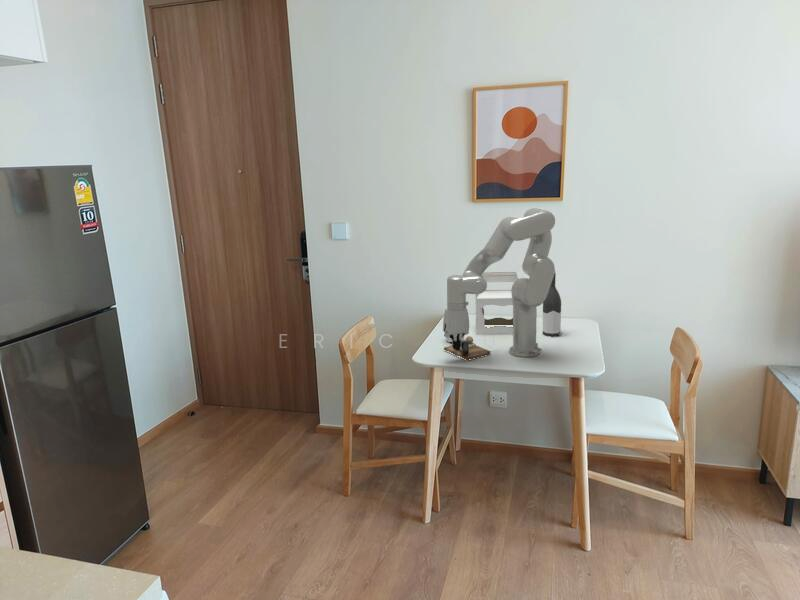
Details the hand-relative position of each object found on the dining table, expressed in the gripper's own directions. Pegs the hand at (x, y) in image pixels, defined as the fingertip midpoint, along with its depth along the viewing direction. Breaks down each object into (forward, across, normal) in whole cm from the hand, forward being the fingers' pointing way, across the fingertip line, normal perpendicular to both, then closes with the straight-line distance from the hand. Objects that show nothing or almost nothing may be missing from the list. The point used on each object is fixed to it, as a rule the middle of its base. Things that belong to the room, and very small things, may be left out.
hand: (456, 349), depth 232 cm
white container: (+5, -10, -22) cm, 25 cm away
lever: (+2, -5, -5) cm, 8 cm away
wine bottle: (+4, -53, -9) cm, 54 cm away
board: (+5, -8, -6) cm, 11 cm away
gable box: (+4, -36, -26) cm, 45 cm away
